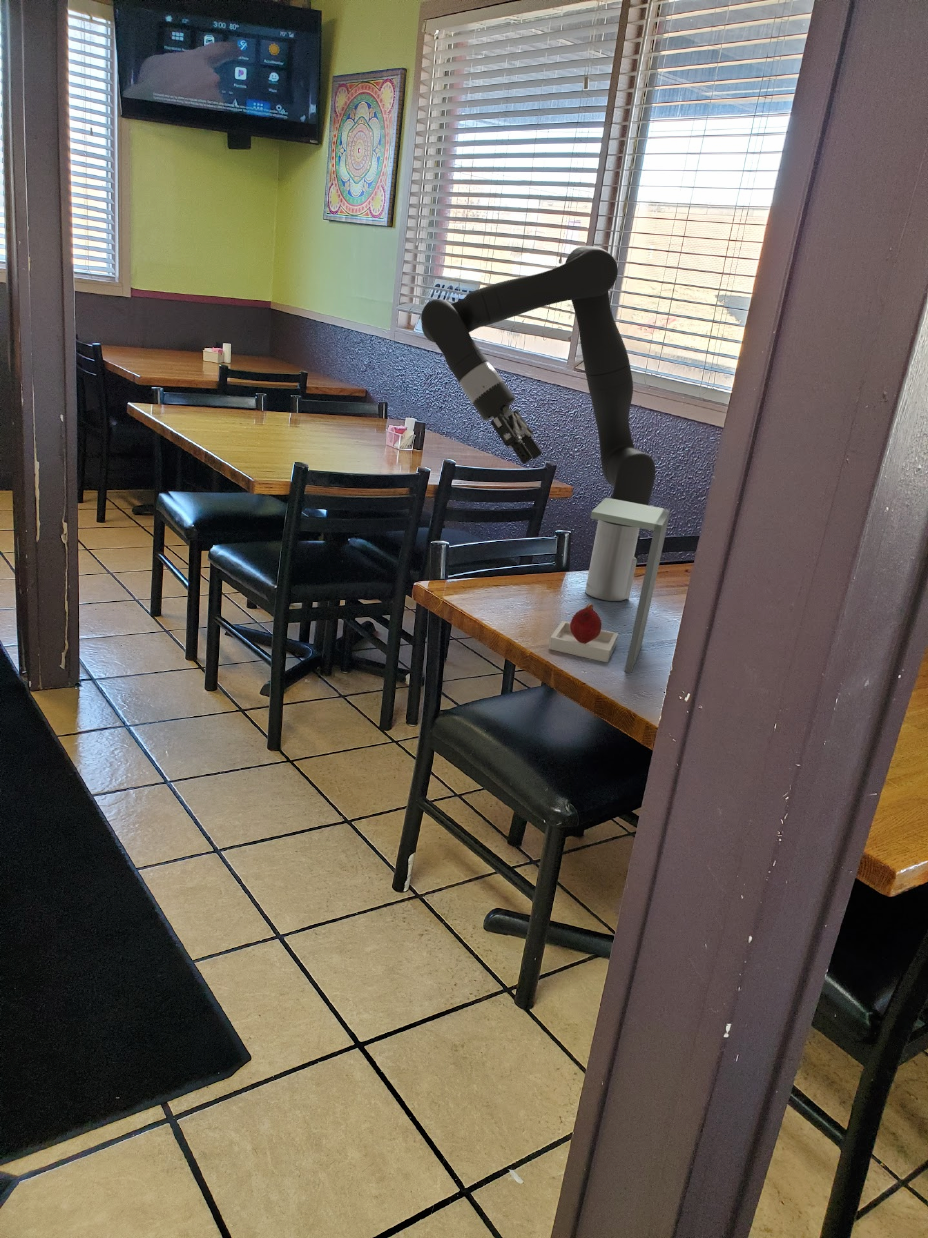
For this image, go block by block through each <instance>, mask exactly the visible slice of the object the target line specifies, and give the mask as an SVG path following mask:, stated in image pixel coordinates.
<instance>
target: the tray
mask: <svg viewBox="0 0 928 1238" xmlns="http://www.w3.org/2000/svg"><path fill="white" fill-rule="evenodd" d="M570 623H571V621H570V622H569V621H565V620H562V621H561V622H560V623H559V625H558V627H556V629H555V630H554V632H553V633H552V635H551V636H550V639H549V646H548V650H552V651H557V652H560V653H565V654H570V655H573V656H578V657H582V658H587V659H591V660H595V661H599V662H603V663H609V661H610V659H611V656H612V654H613V652H614V650H615V649H616V646H617V643H618V638H619V633H618V632H613V631H608V630H605V629H601V631H600V634H599V635H598V636H597V637H596V638H595V639H593V640H592V641H590V642H588V643H586V644H584V643H580V642H578V641H577V640H576V639H575V638H574V636H573V634H572V633H571V630H570Z"/></svg>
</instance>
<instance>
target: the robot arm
mask: <svg viewBox="0 0 928 1238" xmlns="http://www.w3.org/2000/svg"><path fill="white" fill-rule="evenodd" d="M618 268H619V267H618V264H617V261H616V259H615V257H614V256H613V255H612V254H611V253H610V252H609V251H608V250H605V249H604V248H601V247H598V246H592V245H582V246H578V247H576V248H575V249H573V250H572V251H570V253H569V254H568V256H567V258H566V260H565V261H564V263H563V264H561V265H559V266H557V267H554V268H552V269H549V270H546V271H542V272H539V273H536V274H535V273H534V274H532V275H527V276H522V277H521V276H520V277H516V278H512V279H507V280H502V281H500V282H495V283H493V284H489V285H487V286H484V287H480V288H477V289H475V290H473V291H470V292H468V293H467V295H465V296H464V298H462V299H460V300H457V301H455V302H452V303H450V302H448V301H447V300H444V299H440V298H437V299H436V298H435V299H433V300H430V301H428V302H427V303H426V304H425V306H424V307H423V309H422V310H421V311H422V312H421V315H420V319H421V321H420V322H421V330H422V333H423V335H424V337H425V338H426V339H427V340H428V341H430V342H432V343H435V345H436V346H437V347H438V349H439V350H440V351H441V353H442V355H443V357H444V360H445V363H446V365H447V366H448V368H449V370H450V371H451V373H452V375H454V377H455V378H456V380H457V382H458V383H459V385H460V387H461V388H462V390H463V392H464V393H465V396H466V397H467V399H468V400H469V401H470V402H471V404H472V405H473V407H474V409H475V410H476V411H477V413H478V414H479V415H480V417H481V419H482V420H483V421H484V422H488V421H490V425H491V426H492V427H493V429H494V430H495V432H496V433H497V435H498V436H499V438H500V440H501V441H502V442H503V444H504V446H505V447H507V448H508V447H509V448H510V449H511V450H513V452H514V453H515V454H516V456H517V457H518V459H519V460H520V462H521V463H522V464H526V463H528V462H530V461H532V460H535V459H538V457H540V456H541V455H542V453H543V452H542V449H540V447H539V446H538V444H537V442H536V441H535V440H534V438H533V430H532V429H531V428H530V426H529V425H528V424H527V422H526V421H525V419H524V418H523V417H522V415H521V414H520V412H519V411H518V410H516V409H515V410H514V411H513V410H512V409H511V408H510V406H511V405H512V404H513V403H514V402H515V400H516V398H515V396H514V394H513V393H512V392H511V390H510V388H509V387H508V386H507V385H506V383H505V381H504V380H503V378H502V377H501V375H500V374H499V373H498V372H497V370H496V369H495V367H494V366H493V365H492V364H491V363H490V362H489V361H488V359H487V357H486V356H485V355H484V353H483V351H481V349H480V347H479V346H478V345H477V344H476V342H475V341H474V339H473V337H472V336H471V334H470V333H472V332H473V331H475V330H477V329H479V328H481V327H482V328H483V327H486V326H489V325H493V324H496V323H499V322H502V321H504V320H508V319H510V318H513V317H517V316H519V315H522V314H525V313H527V312H531V311H534V310H536V309H539V308H540V309H541V308H543V307H546V306H551V305H553V304H557V303H562V302H566V301H571V303H572V306H573V310H574V313H575V317H576V321H577V326H578V333H579V340H580V341H579V342H580V348H581V354H582V361H583V367H584V371H585V376H586V380H587V381H586V382H587V386H588V391H589V395H590V400H591V403H592V409H593V414H594V418H595V423H596V428H597V434H598V442H599V443H598V444H599V452H600V453H599V454H600V462H601V463H600V464H601V471H602V474H603V478H604V479H605V481H606V482H607V483H608V484H609V485H611V486H612V487H613V491H612V494H611V497H610V498H611V499H616V500H622V501H627V502H632V503H637V504H643V505H648V506H650V500H651V496H652V492H653V489H654V484H655V480H656V464H655V461H654V460H653V458H652V457H651V456H650V455H649V454H648V453H645V452H644V451H641V450H638V449H636V447H635V444H634V441H633V437H632V432H631V429H630V428H631V427H630V421H629V419H630V418H629V417H630V410H631V407H632V402H633V401H632V400H633V394H634V381H633V380H634V379H633V374H632V368H631V362H630V359H629V355H628V351H627V348H626V345H625V343H624V341H623V338H622V335H621V333H620V330H619V328H618V326H617V324H616V321H615V319H614V316H613V312H612V308H611V307H612V306H611V303H610V302H611V301H610V294H609V291H610V289H611V290H612V287H613V286H614V285H615V283H616V281H617V279H618V271H619V270H618ZM640 529H641V528H637V527H632V526H627V525H622V524H617V523H612V522H607V521H602V520H597V526H596V531H595V536H594V537H595V538H594V542H593V548H592V553H591V559H590V564H589V569H588V575H587V579H586V584H585V591H584V592H585V593H586V594H587V595H588V596H591V597H592V598H595V599H598V600H603V601H607V602H608V601H609V602H621V601H624V600H629V599H630V597H631V591H632V586H633V582H634V576H635V571H636V567H637V562H638V560H637V558H636V557H635V553H636V548H637V543H638V539H639V533H640Z"/></svg>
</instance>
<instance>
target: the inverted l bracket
mask: <svg viewBox="0 0 928 1238" xmlns="http://www.w3.org/2000/svg"><path fill="white" fill-rule="evenodd" d="M611 498H612V497H605V498H603V500H602V501H601V502H600V503H599V504H597V505H596V507H595V508H593V510H591V514H590V519H592V520H597V521H598V520H602V521H607V522H612V523H617V524H622V525H627V526H632V527H637V528H640V529H643V530H648V531H653V533H652V538H651V542H650V547H649V552H648V557H647V562H646V565H645V566H646V567H645V570H644V576H643V580H642V586H641V589H640V595H639V600H638V604H637V610H636V615H635V619H634V623H633V627H632V628H633V629H632V633H631V638H630V641H629V648H628V652H627V653H628V654H627V658H626V663H625V666H624V667H625V668H624V672H626V673H630V674H631V673H632V671H633V669H634V668H635V664H636V661H637V659H638V656H639V654H640V651H641V649H642V646H643V641H644V637H645V632H646V627H647V623H648V617H649V613H650V609H651V604H652V601H653V600H652V599H653V594H654V589H655V585H656V580H657V576H658V570H659V566H660V561H661V557H662V552H663V547H664V542H665V538H666V533H667V529H668V523H669V520H670V519H669V518H670V515H671V514H670V513H671V509H669V508H668V509H667V508H665V507H664V508H662V507H658V506H653V505H643V504H637V503H632V502H627V501H622V500H616V499H611Z"/></svg>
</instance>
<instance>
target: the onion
mask: <svg viewBox="0 0 928 1238" xmlns="http://www.w3.org/2000/svg"><path fill="white" fill-rule="evenodd" d="M594 607H595V606H594V605H593V603H588V604H587V605H586V606H585V607H584V608H581V609H579V610H578V611H577V612H576V613H574V614H573V616H572V618H571V621H570V630H571V633H572V634H573V636H574V638H575V639H576V640H577V641H578V642H580V643H584V644H586V643H588V642H590V641H592V640H593V639H595V638H596V637H597V636H598V635H599V634H600V631H601V630H602V619H601V616H600V615H599V614H598V613H597V611H596V610H594Z"/></svg>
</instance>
